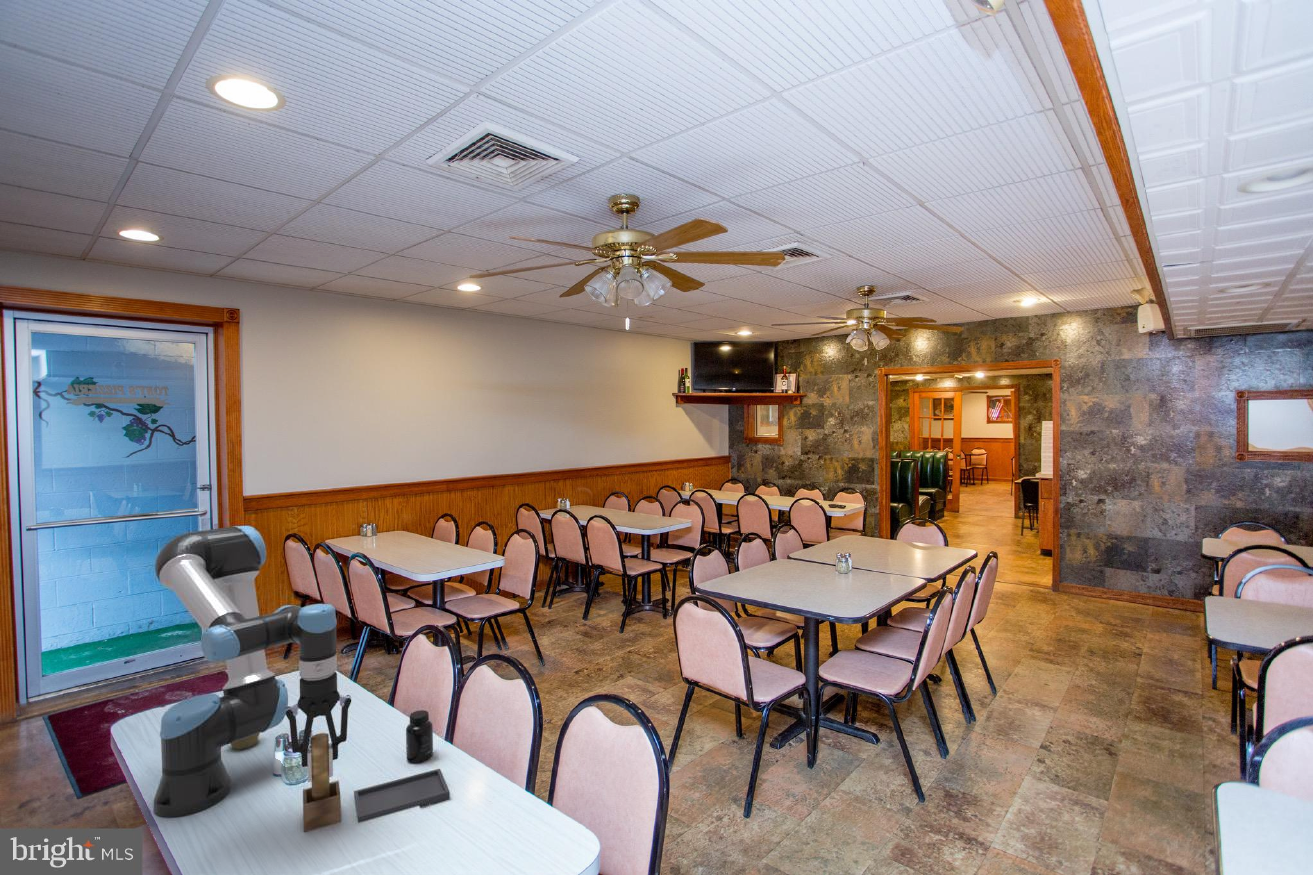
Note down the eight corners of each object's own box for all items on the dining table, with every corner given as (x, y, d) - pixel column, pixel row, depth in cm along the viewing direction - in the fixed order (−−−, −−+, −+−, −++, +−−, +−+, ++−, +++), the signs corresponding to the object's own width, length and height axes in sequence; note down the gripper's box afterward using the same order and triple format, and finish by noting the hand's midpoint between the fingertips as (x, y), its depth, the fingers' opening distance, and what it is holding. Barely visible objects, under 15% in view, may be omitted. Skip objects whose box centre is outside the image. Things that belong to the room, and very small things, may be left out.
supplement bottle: (400, 760, 172) (399, 716, 172) (420, 749, 178) (419, 706, 178) (419, 766, 169) (418, 721, 169) (438, 754, 175) (437, 711, 175)
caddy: (303, 835, 141) (303, 805, 141) (303, 817, 148) (302, 789, 147) (341, 824, 145) (340, 795, 145) (339, 807, 151) (338, 780, 151)
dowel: (312, 812, 144) (310, 742, 143) (311, 804, 147) (310, 735, 147) (330, 807, 146) (328, 738, 145) (329, 799, 149) (328, 731, 148)
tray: (358, 825, 144) (357, 817, 144) (354, 798, 155) (353, 791, 155) (449, 798, 154) (449, 791, 154) (440, 775, 165) (439, 768, 164)
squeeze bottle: (268, 738, 186) (266, 676, 185) (247, 752, 177) (245, 688, 177) (242, 737, 186) (240, 675, 186) (220, 751, 178) (218, 687, 178)
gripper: (275, 688, 138) (277, 795, 139) (360, 673, 146) (361, 774, 147) (276, 676, 145) (278, 778, 145) (357, 662, 153) (359, 759, 153)
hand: (320, 776), depth 146 cm, fingers closed on dowel, 3 cm apart
